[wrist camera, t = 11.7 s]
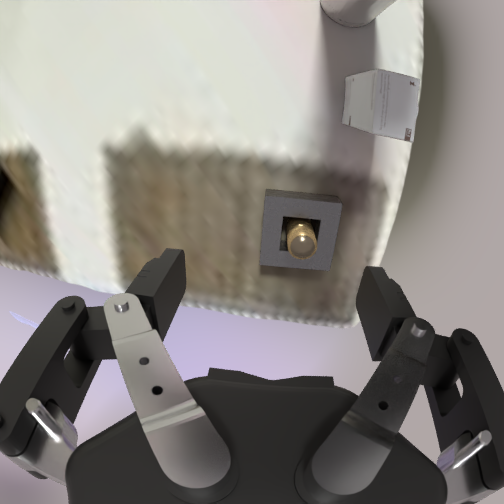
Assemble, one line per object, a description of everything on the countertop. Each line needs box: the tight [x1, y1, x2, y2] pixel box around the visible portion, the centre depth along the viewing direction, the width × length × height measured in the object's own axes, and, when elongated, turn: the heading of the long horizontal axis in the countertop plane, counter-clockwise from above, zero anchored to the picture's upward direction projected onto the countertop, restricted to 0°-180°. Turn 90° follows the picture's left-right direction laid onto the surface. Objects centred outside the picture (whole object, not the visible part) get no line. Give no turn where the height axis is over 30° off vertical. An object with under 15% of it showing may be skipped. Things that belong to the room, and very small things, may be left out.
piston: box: [286, 217, 317, 259], centre depth 46 cm, size 4×4×8 cm
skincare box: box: [342, 69, 420, 142], centre depth 33 cm, size 8×6×15 cm
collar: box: [260, 189, 342, 271], centre depth 48 cm, size 12×12×4 cm
